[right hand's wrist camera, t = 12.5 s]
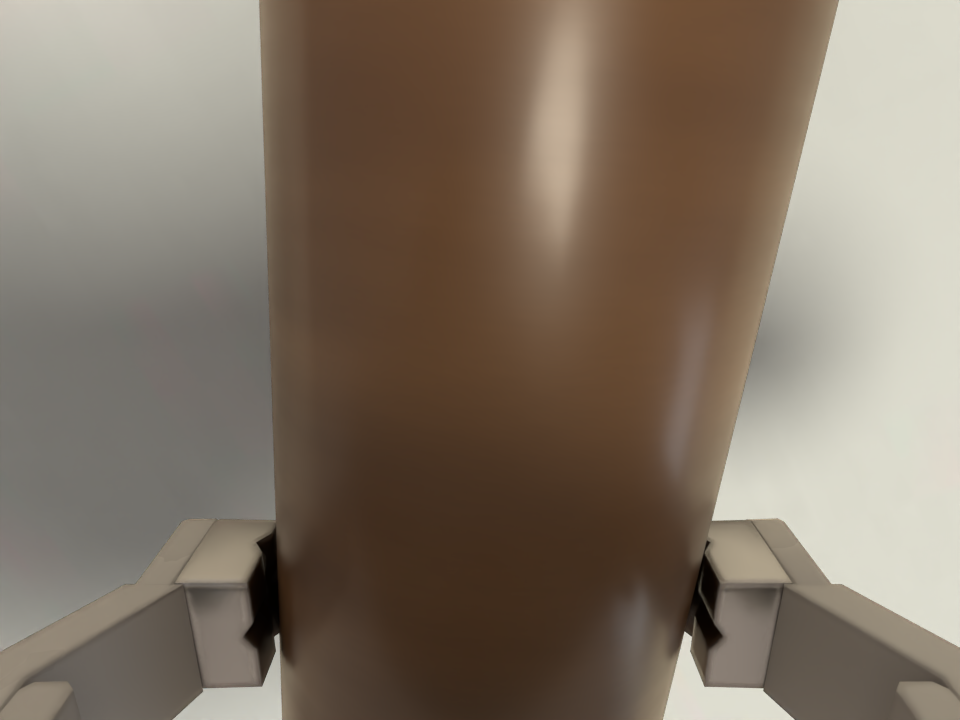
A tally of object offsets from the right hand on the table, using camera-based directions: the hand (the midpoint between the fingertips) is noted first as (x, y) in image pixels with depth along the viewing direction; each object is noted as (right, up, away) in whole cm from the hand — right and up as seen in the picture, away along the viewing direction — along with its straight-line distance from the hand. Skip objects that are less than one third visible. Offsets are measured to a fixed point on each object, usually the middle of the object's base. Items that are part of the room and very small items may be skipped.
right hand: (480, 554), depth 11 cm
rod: (+1, +8, 0) cm, 9 cm away
